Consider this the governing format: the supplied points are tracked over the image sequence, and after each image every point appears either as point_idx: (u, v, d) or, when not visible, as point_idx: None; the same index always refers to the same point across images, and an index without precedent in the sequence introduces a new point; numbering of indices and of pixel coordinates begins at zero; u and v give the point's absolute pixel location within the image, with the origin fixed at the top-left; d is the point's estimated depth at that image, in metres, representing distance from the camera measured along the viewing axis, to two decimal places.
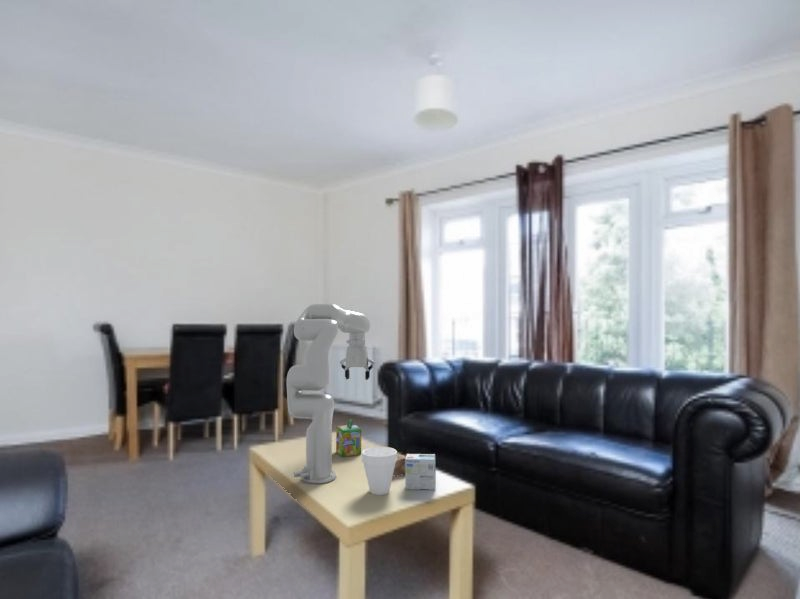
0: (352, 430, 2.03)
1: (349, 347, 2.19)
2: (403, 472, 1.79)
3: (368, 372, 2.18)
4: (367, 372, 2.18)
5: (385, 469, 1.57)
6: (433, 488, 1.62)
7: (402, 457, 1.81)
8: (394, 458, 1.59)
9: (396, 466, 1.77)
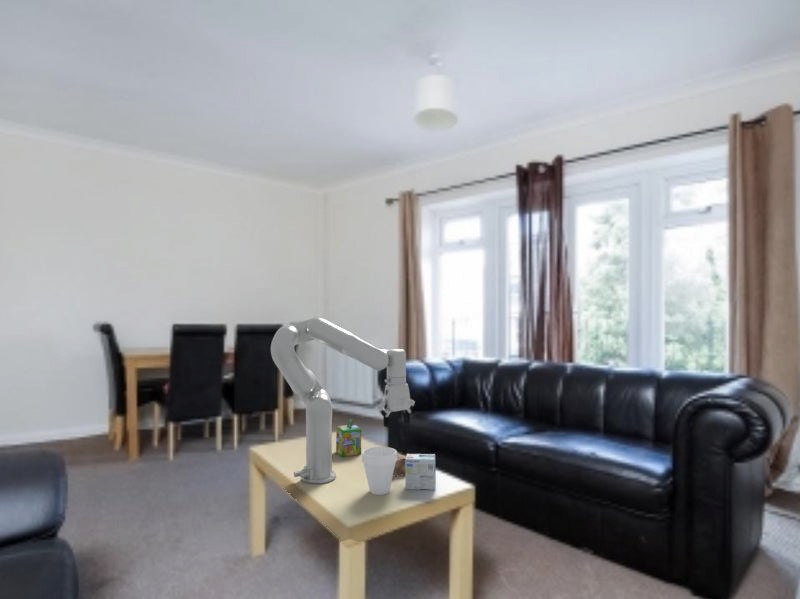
0: (352, 430, 2.03)
1: (394, 387, 1.78)
2: (403, 472, 1.79)
3: (409, 414, 1.85)
4: None
5: (385, 469, 1.57)
6: (433, 488, 1.62)
7: (402, 457, 1.81)
8: (394, 458, 1.59)
9: (396, 466, 1.77)
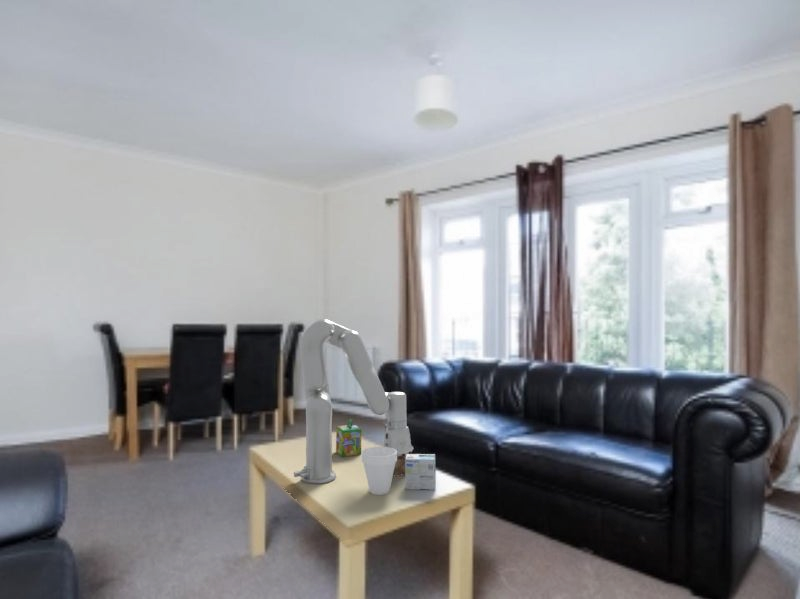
0: (352, 430, 2.03)
1: (394, 431, 1.78)
2: (403, 472, 1.79)
3: None
4: None
5: (385, 469, 1.57)
6: (433, 488, 1.62)
7: (402, 457, 1.81)
8: (394, 458, 1.59)
9: (396, 466, 1.77)
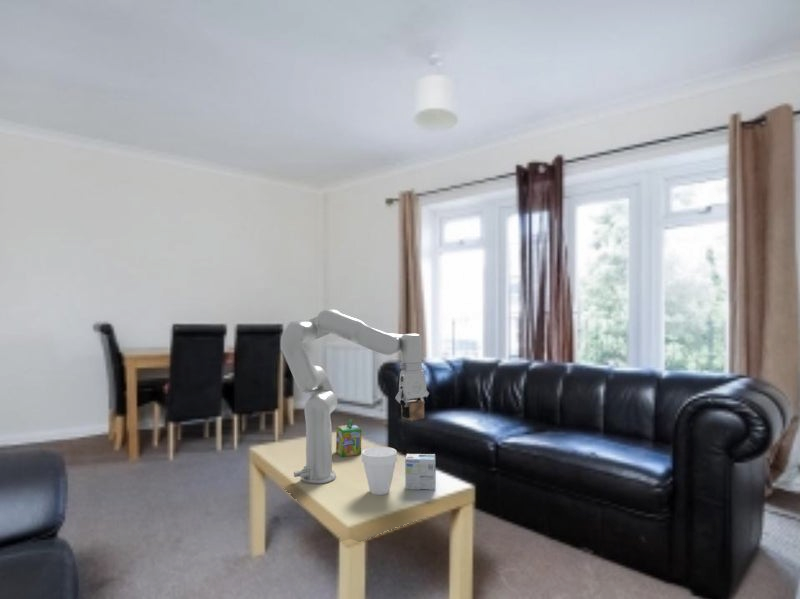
0: (352, 430, 2.03)
1: (410, 373, 1.69)
2: (419, 416, 1.70)
3: None
4: None
5: (385, 469, 1.57)
6: (433, 488, 1.62)
7: (418, 401, 1.72)
8: (394, 458, 1.59)
9: (412, 410, 1.68)
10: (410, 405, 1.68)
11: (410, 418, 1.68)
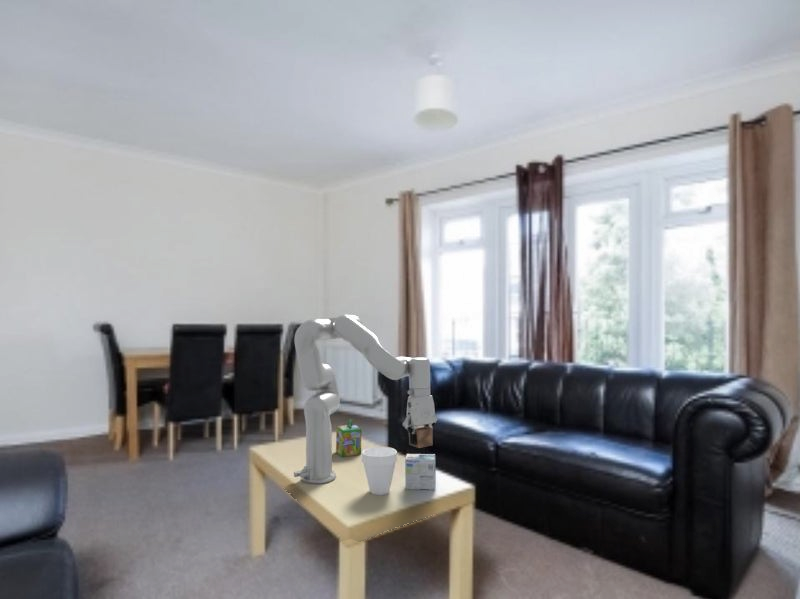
0: (352, 430, 2.03)
1: (417, 399, 1.63)
2: (427, 444, 1.64)
3: None
4: None
5: (385, 469, 1.57)
6: (433, 488, 1.62)
7: (426, 428, 1.66)
8: (394, 458, 1.59)
9: (420, 437, 1.63)
10: (418, 432, 1.63)
11: (418, 445, 1.63)
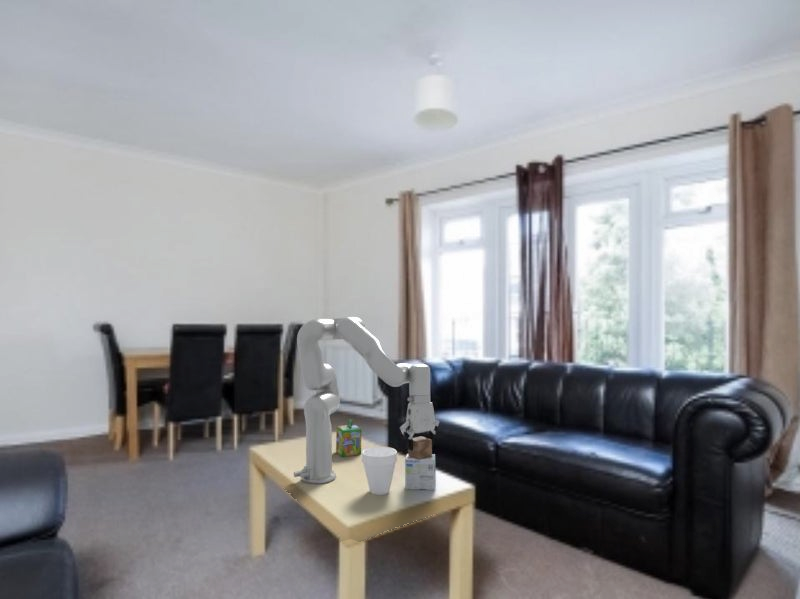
0: (352, 430, 2.03)
1: (417, 406, 1.63)
2: (427, 455, 1.64)
3: None
4: None
5: (385, 469, 1.57)
6: (433, 488, 1.62)
7: (425, 439, 1.66)
8: (394, 458, 1.59)
9: (419, 448, 1.62)
10: (417, 443, 1.63)
11: (417, 457, 1.63)
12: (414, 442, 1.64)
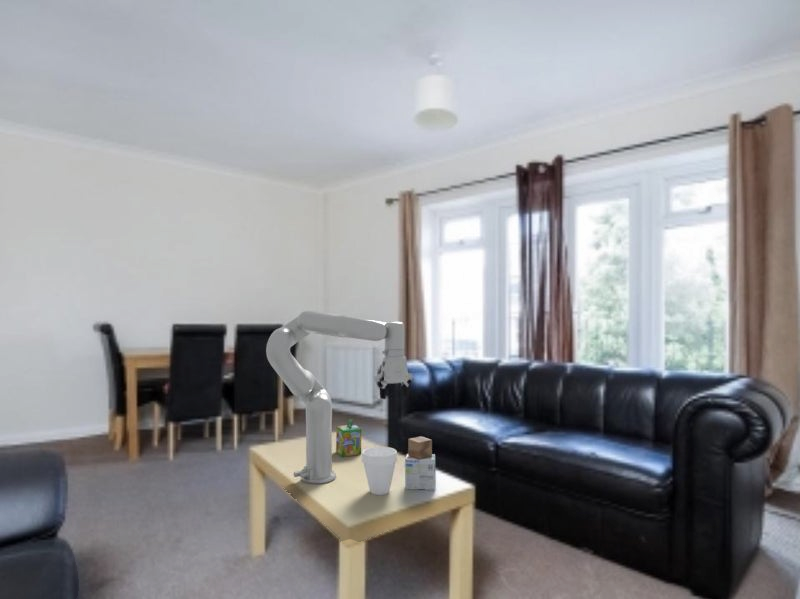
0: (352, 430, 2.03)
1: (391, 359, 1.78)
2: (427, 455, 1.64)
3: None
4: None
5: (385, 469, 1.57)
6: (433, 488, 1.62)
7: (425, 439, 1.66)
8: (394, 458, 1.59)
9: (419, 448, 1.62)
10: (417, 444, 1.63)
11: (417, 457, 1.63)
12: (414, 442, 1.64)
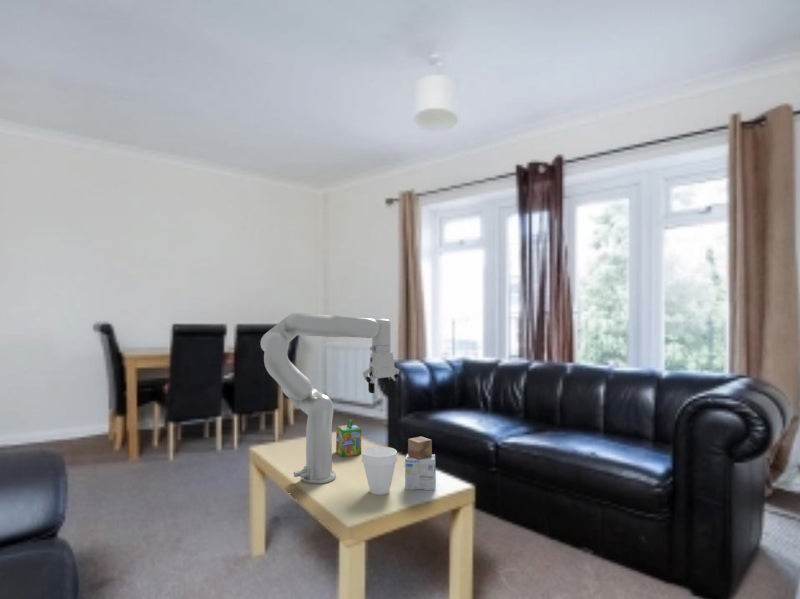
0: (352, 430, 2.03)
1: (378, 355, 1.85)
2: (427, 455, 1.64)
3: None
4: None
5: (385, 469, 1.57)
6: (433, 488, 1.62)
7: (425, 439, 1.66)
8: (394, 458, 1.59)
9: (419, 448, 1.62)
10: (417, 444, 1.63)
11: (417, 457, 1.63)
12: (414, 442, 1.64)
